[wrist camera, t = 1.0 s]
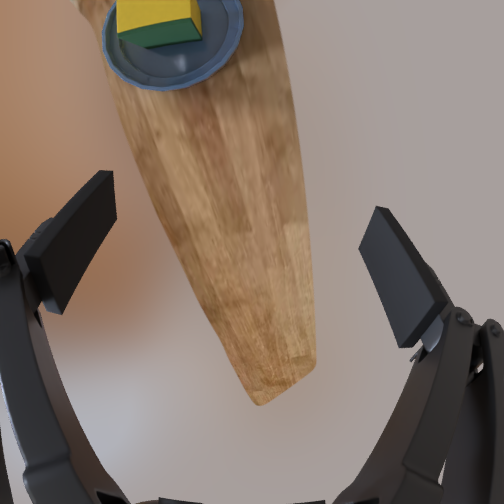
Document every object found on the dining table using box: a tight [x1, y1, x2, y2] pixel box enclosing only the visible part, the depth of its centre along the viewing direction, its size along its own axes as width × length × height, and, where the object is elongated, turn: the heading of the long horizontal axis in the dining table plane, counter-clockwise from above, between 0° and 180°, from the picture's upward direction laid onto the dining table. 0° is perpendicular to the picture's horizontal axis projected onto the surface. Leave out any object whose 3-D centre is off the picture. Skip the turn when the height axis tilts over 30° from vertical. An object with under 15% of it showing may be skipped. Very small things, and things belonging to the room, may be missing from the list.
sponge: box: [117, 0, 202, 49], centre depth 22 cm, size 4×7×11 cm, turn 93°
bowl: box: [102, 0, 244, 91], centre depth 26 cm, size 17×17×4 cm
